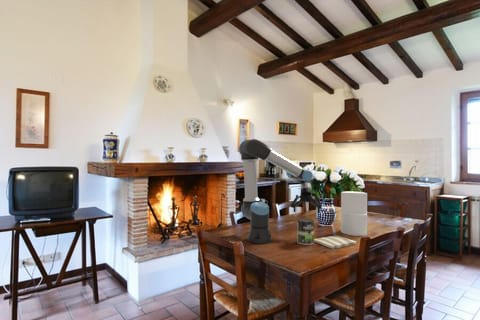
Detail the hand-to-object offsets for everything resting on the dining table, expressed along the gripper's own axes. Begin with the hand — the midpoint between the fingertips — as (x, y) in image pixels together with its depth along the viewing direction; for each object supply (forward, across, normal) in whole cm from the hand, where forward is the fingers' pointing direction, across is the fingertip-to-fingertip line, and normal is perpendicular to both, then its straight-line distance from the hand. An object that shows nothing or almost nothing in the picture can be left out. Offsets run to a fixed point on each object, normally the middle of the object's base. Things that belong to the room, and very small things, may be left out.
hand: (306, 216), depth 191 cm
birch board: (+14, -17, -6) cm, 23 cm away
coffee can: (+17, +1, -4) cm, 17 cm away
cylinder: (-6, -34, -27) cm, 43 cm away
